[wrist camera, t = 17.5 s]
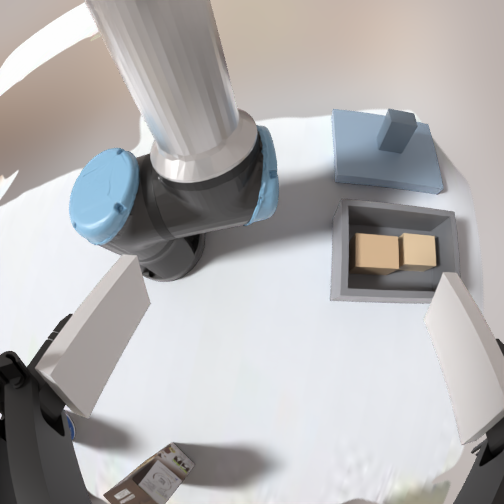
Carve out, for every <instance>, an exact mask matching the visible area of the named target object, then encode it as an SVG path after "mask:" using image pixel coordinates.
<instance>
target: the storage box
mask: <svg viewBox="0 0 504 504" xmlns="http://www.w3.org/2000/svg"><path fill="white" fill-rule="evenodd" d="M443 272H454V273H457V274H458V276H459V277H460V262H459V248H458V237H457V228H456V220H455V213H454V212H453V211H446V210H439V209H432V208H425V207H417V206H409V205H401V204H392V203H383V202H374V201H363V200H353V199H341V201H340V203H339V206H338V208H337V210H336V213H335V215H334V217H333V223H332V270H331V292H330V301H352V302H379V303H431V301H432V299H433V297H434V294H435V292H436V289H437V287H438V284H439V282H440V279H441V276H442V274H443Z"/></svg>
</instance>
